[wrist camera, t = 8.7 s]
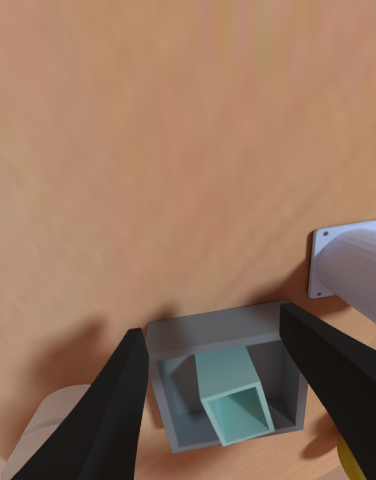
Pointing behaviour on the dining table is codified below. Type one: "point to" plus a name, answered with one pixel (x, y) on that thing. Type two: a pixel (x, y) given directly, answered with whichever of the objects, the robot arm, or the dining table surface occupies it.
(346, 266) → the robot arm
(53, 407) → the honey pot
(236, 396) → the teal crate
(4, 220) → the dining table surface
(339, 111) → the dining table surface
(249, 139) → the dining table surface
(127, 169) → the dining table surface
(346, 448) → the lemon
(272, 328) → the charcoal crate
